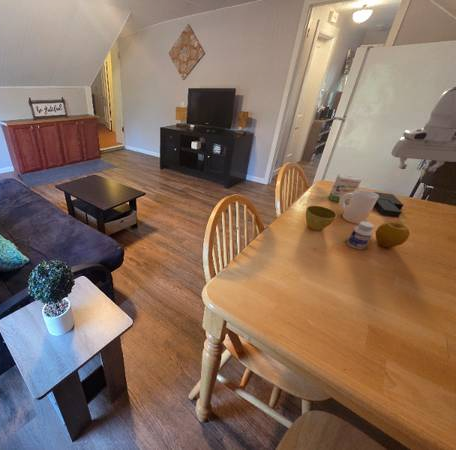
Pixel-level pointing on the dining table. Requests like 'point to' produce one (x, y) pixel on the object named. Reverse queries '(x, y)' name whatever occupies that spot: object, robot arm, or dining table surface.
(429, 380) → the dining table surface
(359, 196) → the mug
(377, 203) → the small pad
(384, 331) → the dining table surface
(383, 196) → the big pad
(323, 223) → the flower pot
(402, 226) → the apple
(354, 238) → the pill bottle
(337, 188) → the ink box
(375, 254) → the dining table surface
